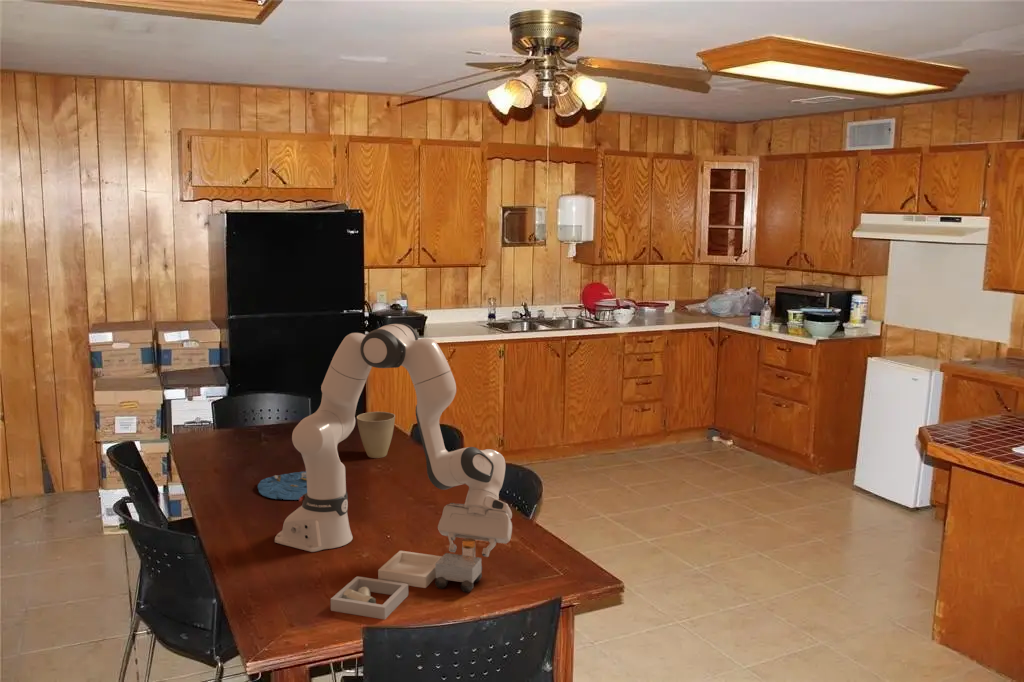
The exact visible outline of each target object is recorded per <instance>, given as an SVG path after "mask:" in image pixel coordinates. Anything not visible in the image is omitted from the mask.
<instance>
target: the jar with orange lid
mask: <svg viewBox="0 0 1024 682" xmlns="http://www.w3.org/2000/svg"><path fill="white" fill-rule="evenodd" d="M461 542H462V543H461V545H462V546H461V550H462V551H461V552H462V553H461V555H464V556H471V557H476V540H475V539H472V538H462V541H461Z"/></svg>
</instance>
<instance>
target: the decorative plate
mask: <svg viewBox="0 0 1024 682" xmlns="http://www.w3.org/2000/svg"><path fill="white" fill-rule="evenodd" d="M257 489H258V493H259V494H260V495H262V496H263V497H266V498H270V499H272V500H274V499H275V500H282V499H283V501H288V500H290V501H293V500H294V501H297V500H298V501H299V500H300V499H299V498H300V497H302V496H303V495H304V494H306V493H307V477H306V471H299V472H298V471H297V472H296V471H294V472H289V473H282V474H280V475H276V474H275V475H274V474H273V476H270V477H265V478H263V479H260V481H259V483H258V484H257Z"/></svg>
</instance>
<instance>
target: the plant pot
mask: <svg viewBox="0 0 1024 682" xmlns="http://www.w3.org/2000/svg"><path fill="white" fill-rule="evenodd" d="M395 420H396V414H394V413H391V412H387V411H369V412H365V413H360V414H358V415H356V423H357V426H358V427H357V428H358V431H359V435H360V440H361V443H362V445H363V449H364V450H365V452H366V455H367V457H369V458H371V459H379V458H380V459H382V458H384V457H386V456H387V455H388V451H389V448H390V445H391V442H392V438H393V434H394V429H395Z"/></svg>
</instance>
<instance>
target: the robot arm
mask: <svg viewBox="0 0 1024 682" xmlns="http://www.w3.org/2000/svg"><path fill="white" fill-rule="evenodd" d="M331 359H332V360H331V361H330V364H329V366H328V369H327V371H326V373H325V376H324V379H323V381H322V383H321V385H320V387H321V388H320V390H321V402H320V405H319V406H318V408H317V410H316V411H315V412H314V413H312V414H310V415H307V416H306V417H304V418H303V419H302V420H300V422H298V424H297V425H296V426H295V427H294V428H293V431H292V435H291V441H292V444H293V446H294V448H295V449H296V450H297V451H298V452H299V453H300V454H301V457H302V460H303V463H304V467H305V468H304V469H305V472H306V477H307V493H306V494H304V495H303V496H302V497H300V498H299V499H300V500H298V502H299V503H300V502H302V505H300V506H299V507H298V508H296V510H294V511H293V512H291V513H290V514H289V515H288V516H287V517H286V518H285V519H284V522H283V526H282V530H281V531H279V532H278V533H277V534H276V536H275V537H274V543H277V544H280V545H283V546H287V547H291V548H295V549H299V550H304V551H306V552H311V553H315V552H319V551H322V550H328V549H329V550H330V549H331V550H332V549H336V548H340V547H342V546H346V545H347V544H349V543H351V542H352V540H353V534H352V531H351V527H350V522H349V516H348V507H349V504H348V503H349V501H348V500H349V499H348V491H347V483H346V482H347V481H346V480H347V478H346V466H345V464H344V463H343V462H341V459H340V457H339V451H338V445H339V443H341V442H342V441H344V440H346V439H347V438H348V437H349V436H350V435H351V433H352V432H353V431H354V428H355V426H356V417H355V416H356V412H357V411H356V410H357V406H358V402H359V399H360V396H361V394H362V392H363V390H364V387H365V384H366V383H367V380H368V378H369V375H370V372H371V370H372V368H377V369H394V368H395V369H397V368H400V367H403V368H404V369H406V371H407V373H408V375H409V376H410V379H411V382H412V384H413V388H414V391H415V395H416V406H415V418H416V422H417V428H418V430H419V431H418V432H419V435H420V440H421V444H422V447H423V452H424V455H425V461H426V472H427V477H428V480H429V481H430V482H431V483H432V485H433V486H434V487H436V488H437V489H439V490H443V491H445V490H448V489H451V488H452V489H453V488H454V487H457V486H461V485H462V486H463V485H466V486H468V491H467V494H466V498H465V502H464V503H455V502H450V503H448V504H446V505H444V507H443V510H442V515H441V517H440V520H439V521H438V523H437V524H438V525H437V529H438V532H439V533H440V535H441V536H445V537H447V538H448V542H449V546H448V551H449V553H456V551H457V547H458V546H457V544H455V543H454V542H453V541H455V540H456V538H458V539H459V538H460V539H466V538H472V539H475V541H483V542H488V545H487V546H486V547H483V548H482V551H481V555H482V557H485V558H488V557H490V553H491V551H492V550H493V549H494V548H495V547H496V545H497V543H498V544H508V543H510V541H511V538H512V534H513V522H512V520H511V519H512V518H513V513H512V510H511V507H509V504H508V503H506V502H505V501H502V500H499V499H500V498H499V497H500V496H499V494H500V491H501V489H502V488H503V484H504V480H505V476H506V460H505V457H504V456H503V454H501V452H498V451H497V450H494V449H492V448H491V449H490V448H487V449H479V448H478V447H474V446H468V447H463V448H458V449H456V450H451V451H448V450H447V449H446V446H445V443H444V442H445V441H444V438H443V434H442V431H441V426H440V419H441V416H442V415H443V414H442V413H444V411H446V409H447V408H448V407H449V406H451V404H452V402H453V401H454V399H455V396H456V394H457V384H456V380H455V376H454V374H453V372H452V369H451V366H450V365H449V362H448V360H447V358H446V356H445V354H444V353H443V351H442V349H441V347H440V345H439V344H438V343H437V341H435V340H434V339H432V338H429V337H428V338H427V337H423V338H419V336H418V333H417V331H416V330H415V329H414V328H413V326H411V325H409V324H407V323H404V322H395V323H391V324H386V325H383V326H381V327H379V328H376V329H373V330H371V331H369V332H368V333H367V334H364V333H361V332H351V333H349V334H347V335H346V336H345V337H344V338H343V340H342V341H341V343H340V344H339V346H338V348H337V349H336V351H335V353H334V355H333V357H332V358H331Z"/></svg>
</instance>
